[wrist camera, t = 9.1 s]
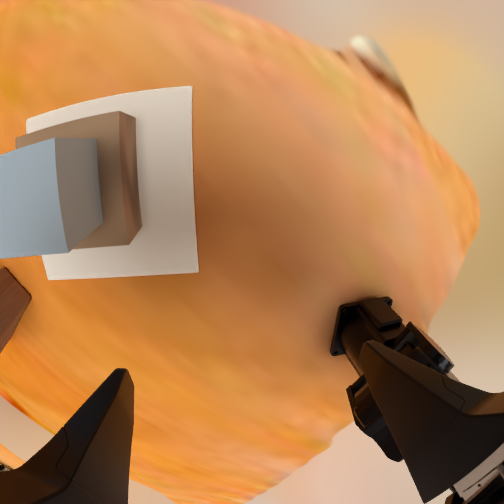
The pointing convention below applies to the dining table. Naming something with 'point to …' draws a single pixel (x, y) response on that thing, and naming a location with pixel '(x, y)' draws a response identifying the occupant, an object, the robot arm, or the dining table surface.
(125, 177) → the walnut base
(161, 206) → the felt mat
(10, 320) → the wooden block
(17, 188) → the gray cube
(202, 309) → the dining table surface
